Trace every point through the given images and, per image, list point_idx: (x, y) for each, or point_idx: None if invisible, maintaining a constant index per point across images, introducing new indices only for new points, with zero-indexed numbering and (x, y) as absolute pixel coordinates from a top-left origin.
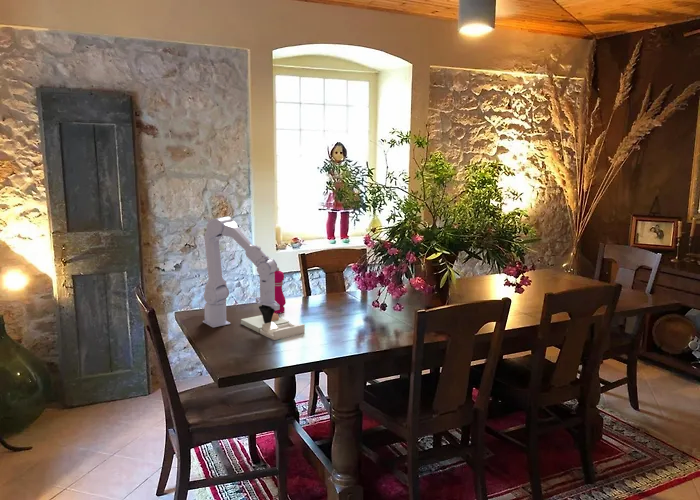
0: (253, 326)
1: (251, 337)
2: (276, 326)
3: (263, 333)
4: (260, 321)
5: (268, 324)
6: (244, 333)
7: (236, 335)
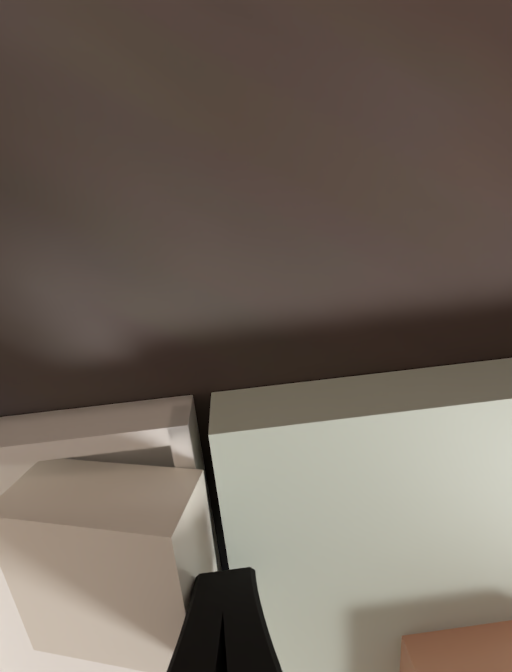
0: (380, 403)
1: (59, 211)
2: (62, 649)
3: (76, 419)
4: (476, 553)
5: (135, 600)
6: (307, 197)
7: (288, 10)
